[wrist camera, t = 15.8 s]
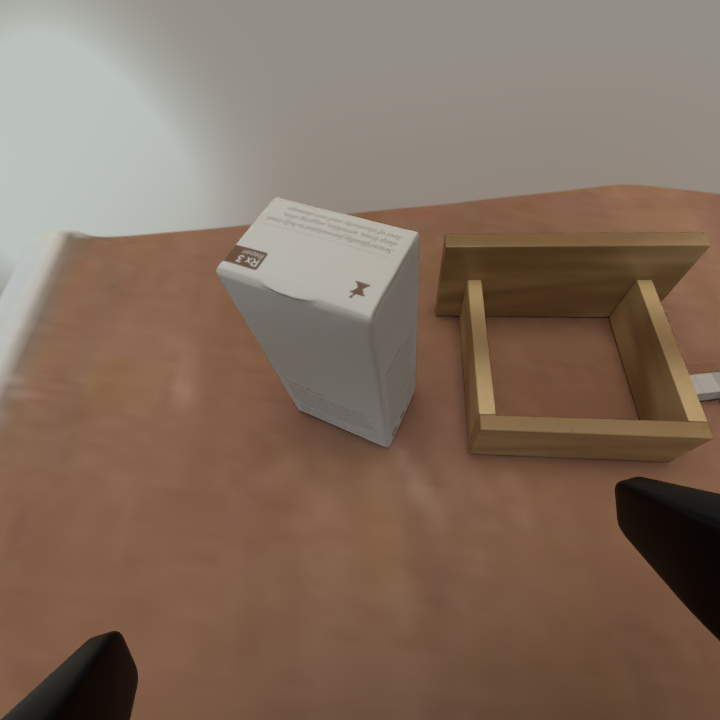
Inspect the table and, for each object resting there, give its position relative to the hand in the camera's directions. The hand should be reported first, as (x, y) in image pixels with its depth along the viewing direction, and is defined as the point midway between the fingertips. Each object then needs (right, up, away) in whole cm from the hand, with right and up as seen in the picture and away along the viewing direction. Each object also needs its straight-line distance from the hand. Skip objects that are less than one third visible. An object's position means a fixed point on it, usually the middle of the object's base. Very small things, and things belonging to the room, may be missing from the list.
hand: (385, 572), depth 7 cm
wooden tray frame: (+11, +3, +17) cm, 20 cm away
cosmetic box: (-1, +1, +17) cm, 17 cm away
